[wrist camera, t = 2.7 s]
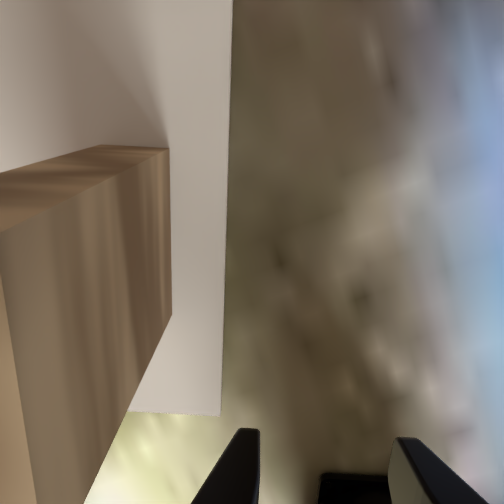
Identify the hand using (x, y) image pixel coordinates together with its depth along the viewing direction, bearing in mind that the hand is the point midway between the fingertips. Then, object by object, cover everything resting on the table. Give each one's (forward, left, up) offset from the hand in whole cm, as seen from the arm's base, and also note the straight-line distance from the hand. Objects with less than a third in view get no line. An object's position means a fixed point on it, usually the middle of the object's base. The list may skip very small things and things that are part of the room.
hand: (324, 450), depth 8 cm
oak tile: (+7, 0, -12) cm, 14 cm away
